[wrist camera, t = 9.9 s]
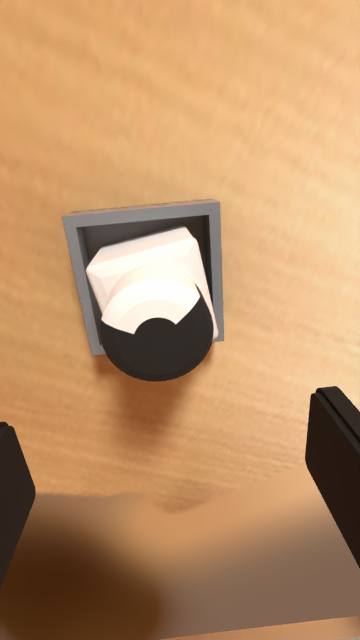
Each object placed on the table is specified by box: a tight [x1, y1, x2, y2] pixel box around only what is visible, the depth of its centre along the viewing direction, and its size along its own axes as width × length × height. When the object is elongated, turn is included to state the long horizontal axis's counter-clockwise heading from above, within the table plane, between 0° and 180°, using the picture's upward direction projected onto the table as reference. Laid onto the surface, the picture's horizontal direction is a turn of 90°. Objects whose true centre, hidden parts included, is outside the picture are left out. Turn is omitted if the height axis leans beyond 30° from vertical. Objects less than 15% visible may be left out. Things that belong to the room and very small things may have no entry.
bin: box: [62, 199, 224, 356], centre depth 27 cm, size 11×11×4 cm
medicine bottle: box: [86, 224, 218, 381], centre depth 22 cm, size 7×7×12 cm
